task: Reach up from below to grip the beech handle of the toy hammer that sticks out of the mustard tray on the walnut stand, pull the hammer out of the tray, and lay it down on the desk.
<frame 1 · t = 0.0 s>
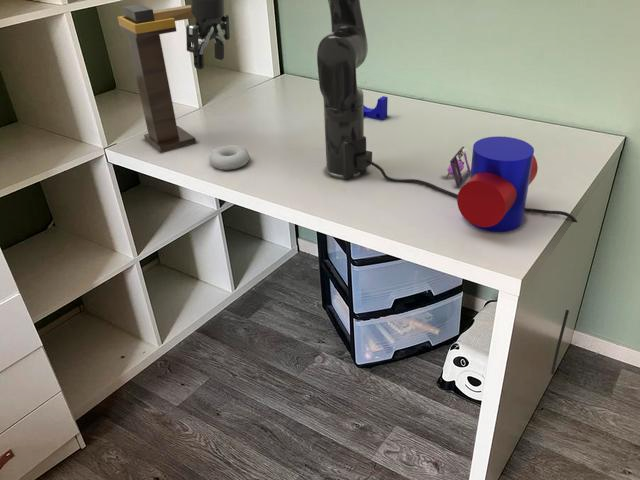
hand: (209, 63, 152), 22 cm above the table, tool pointing down, fingers open, 8 cm apart
blue curved block: (365, 116, 184), on the table
toy hammer: (141, 25, 151), point 30 cm above the table, touching mustard tray
donut: (230, 164, 158), on the table
mustard tray: (147, 26, 152), resting on walnut stand
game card: (455, 179, 150), on the table
blue red crossed cylinders: (494, 218, 134), on the table
walnut stand: (170, 141, 169), on the table
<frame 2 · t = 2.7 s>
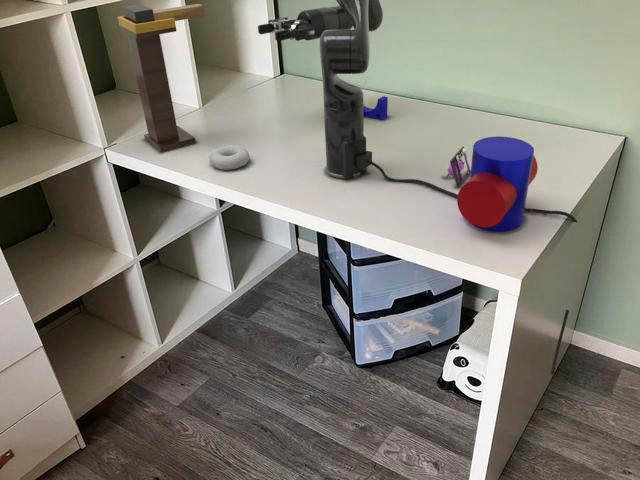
hand: (267, 33, 161), 26 cm above the table, tool horizontal, fingers open, 8 cm apart
nothing on the table moved.
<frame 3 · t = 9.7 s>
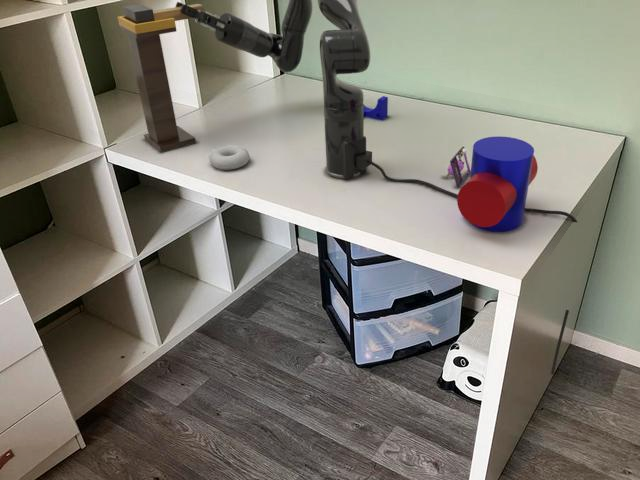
hand: (179, 7, 155), 33 cm above the table, tool pointing upward, fingers closed on toy hammer, 2 cm apart
toy hammer: (141, 25, 151), point 30 cm above the table, touching gripper, mustard tray
everything else where it was.
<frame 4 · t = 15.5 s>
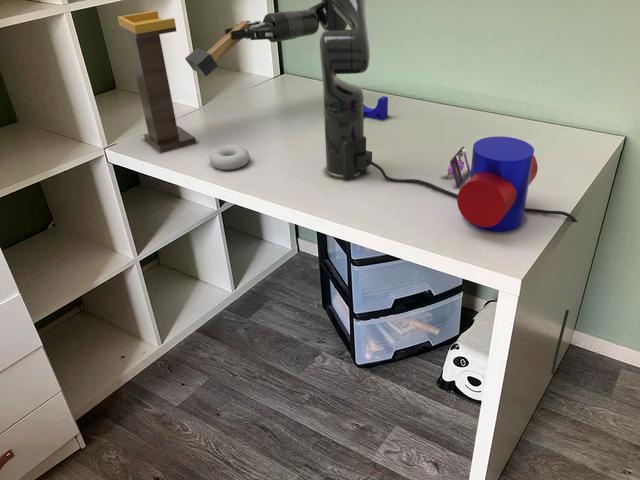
hand: (228, 34, 166), 25 cm above the table, tool horizontal, fingers closed on toy hammer, 2 cm apart
toy hammer: (205, 68, 166), point 17 cm above the table, tilted 28°, touching gripper
everything else where it was.
when the fingers open (9 cm above the table, at t = 20.2 s): toy hammer drops 1 cm, on the table.
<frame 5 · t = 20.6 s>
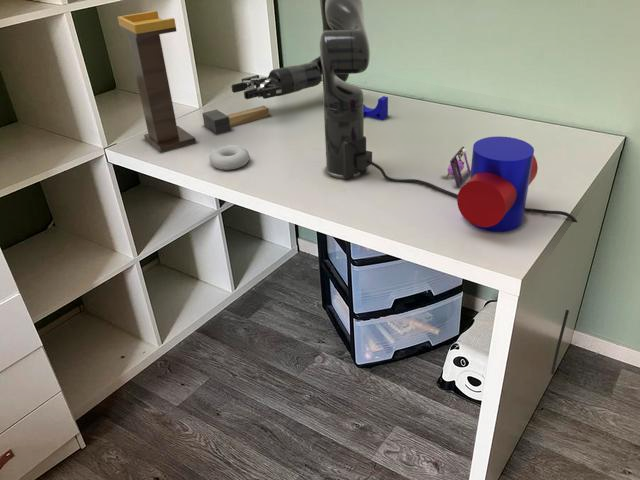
hand: (238, 92, 176), 9 cm above the table, tool horizontal, fingers open, 6 cm apart
toy hammer: (217, 128, 177), on the table
everything else where it was.
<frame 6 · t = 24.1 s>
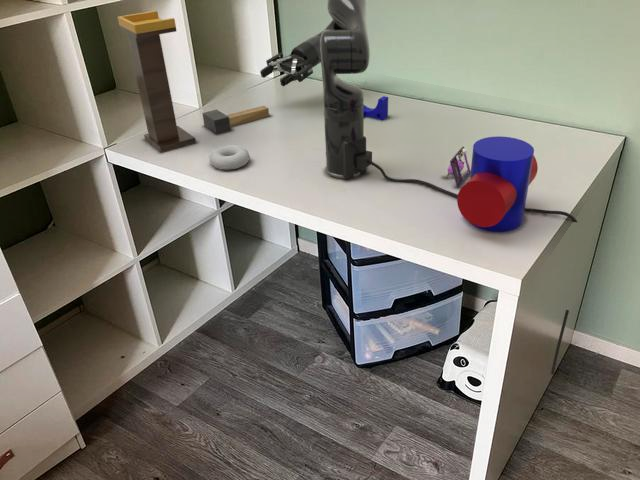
hand: (271, 78, 179), 11 cm above the table, tool horizontal, fingers open, 8 cm apart
nothing on the table moved.
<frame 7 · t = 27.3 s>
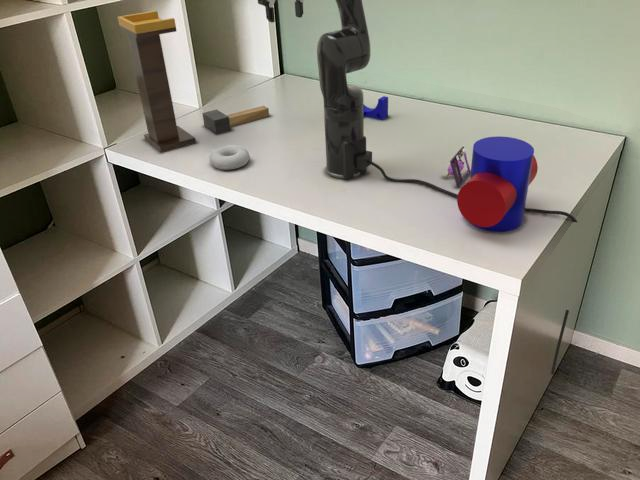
hand: (285, 19, 165), 28 cm above the table, tool pointing down, fingers open, 8 cm apart
nothing on the table moved.
at the end: toy hammer inside the target area (5.5 cm from its centre), on the table; the gripper is holding nothing; toy hammer touching table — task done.
